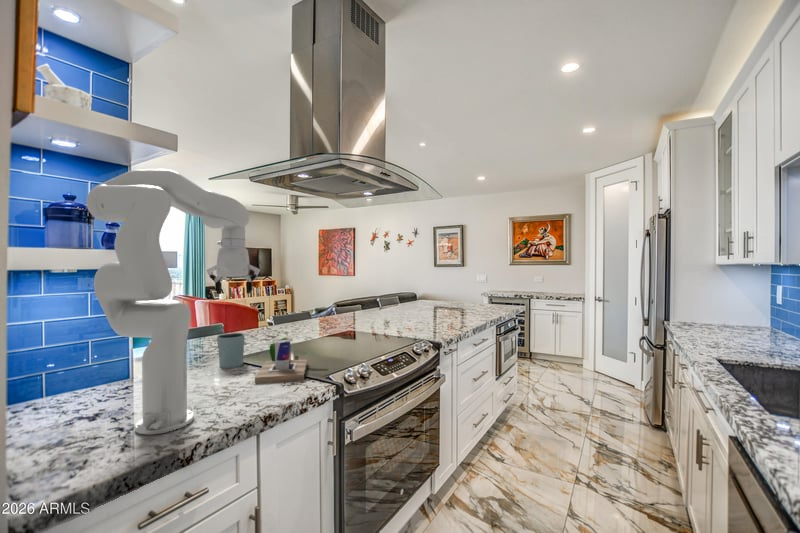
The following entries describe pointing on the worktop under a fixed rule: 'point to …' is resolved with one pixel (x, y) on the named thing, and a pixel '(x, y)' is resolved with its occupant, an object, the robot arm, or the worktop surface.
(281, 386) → the worktop surface
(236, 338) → the grey teal cup
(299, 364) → the slotted board
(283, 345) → the energy drink
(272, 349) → the bell pepper
